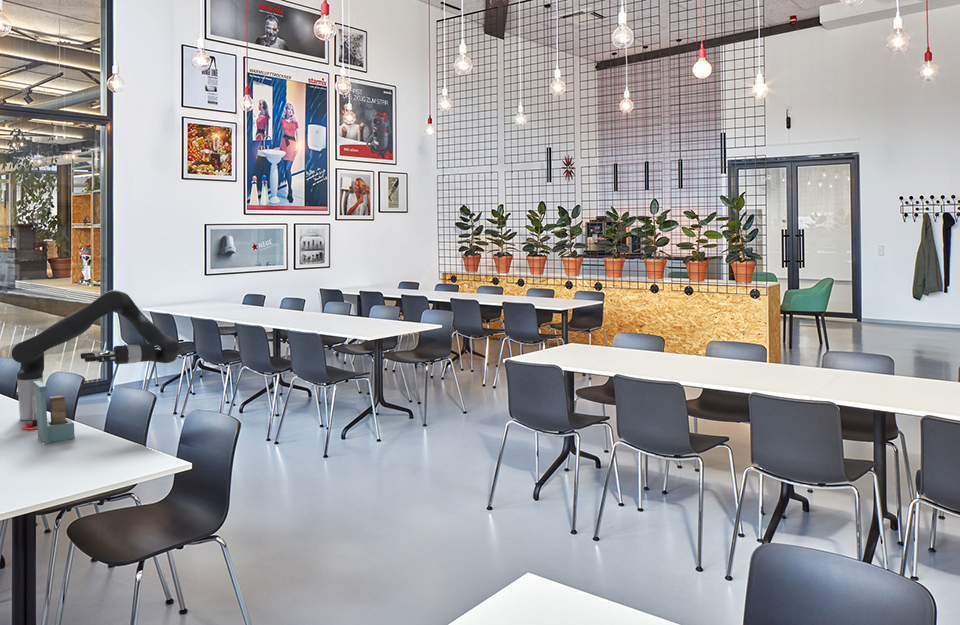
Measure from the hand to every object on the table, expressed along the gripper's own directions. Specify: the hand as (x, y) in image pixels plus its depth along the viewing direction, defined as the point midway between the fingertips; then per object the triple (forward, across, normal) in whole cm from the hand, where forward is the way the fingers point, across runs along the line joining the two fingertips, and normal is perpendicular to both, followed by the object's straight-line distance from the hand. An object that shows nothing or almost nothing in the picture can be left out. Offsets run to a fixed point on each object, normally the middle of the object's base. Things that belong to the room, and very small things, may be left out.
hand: (82, 357), depth 283 cm
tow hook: (+15, -18, +30) cm, 38 cm away
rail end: (+10, +6, +30) cm, 32 cm away
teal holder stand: (+10, +6, +30) cm, 32 cm away
